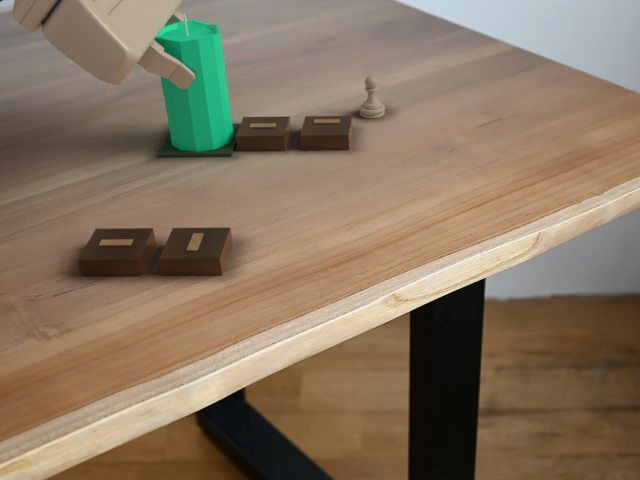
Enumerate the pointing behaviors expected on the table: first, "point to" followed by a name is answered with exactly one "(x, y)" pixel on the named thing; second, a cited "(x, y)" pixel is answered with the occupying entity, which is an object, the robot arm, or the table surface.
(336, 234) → the table surface
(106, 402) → the table surface
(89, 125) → the table surface
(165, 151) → the mat
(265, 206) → the table surface
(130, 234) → the front word
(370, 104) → the pawn
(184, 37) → the candle
